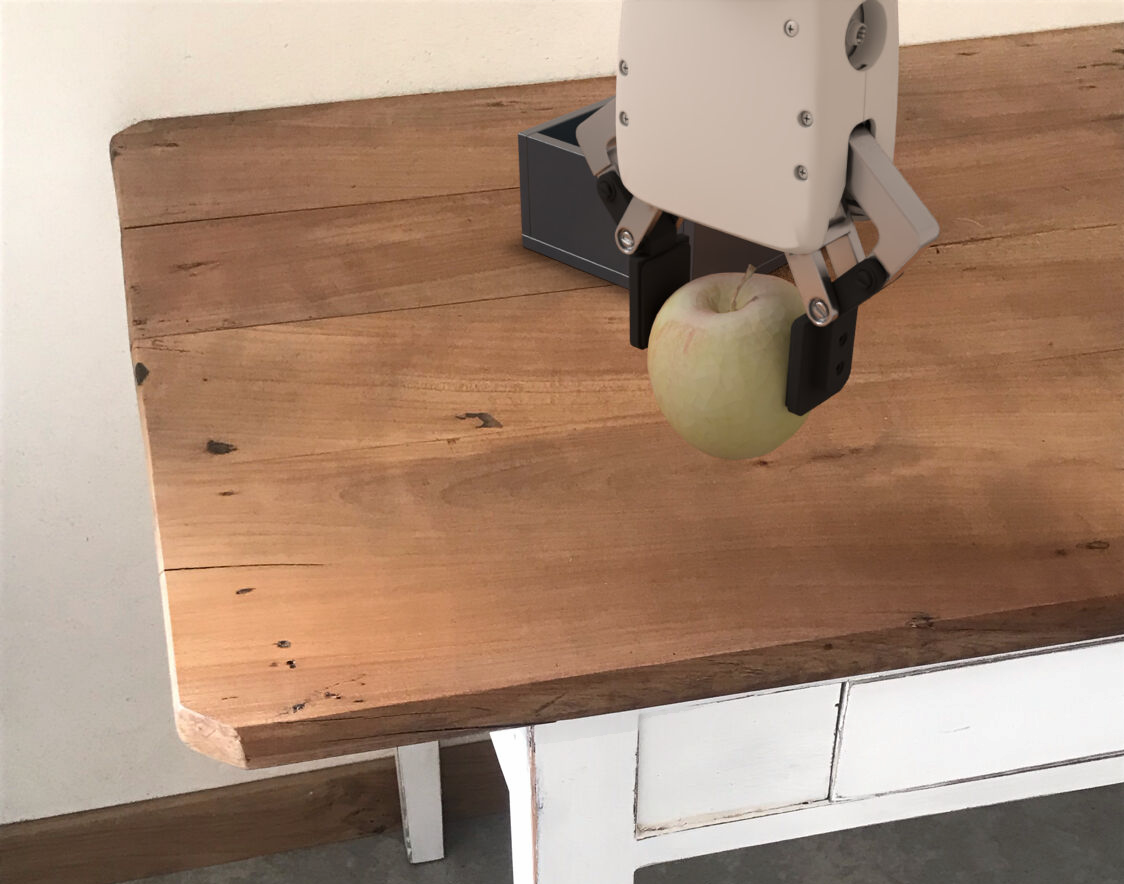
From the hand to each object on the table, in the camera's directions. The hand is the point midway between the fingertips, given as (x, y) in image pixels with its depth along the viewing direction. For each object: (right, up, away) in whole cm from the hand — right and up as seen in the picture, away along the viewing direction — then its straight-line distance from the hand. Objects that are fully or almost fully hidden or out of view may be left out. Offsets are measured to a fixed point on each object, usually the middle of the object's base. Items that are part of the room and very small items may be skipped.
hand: (734, 365), depth 57 cm
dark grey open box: (0, +15, +27) cm, 31 cm away
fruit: (0, -3, +3) cm, 4 cm away
